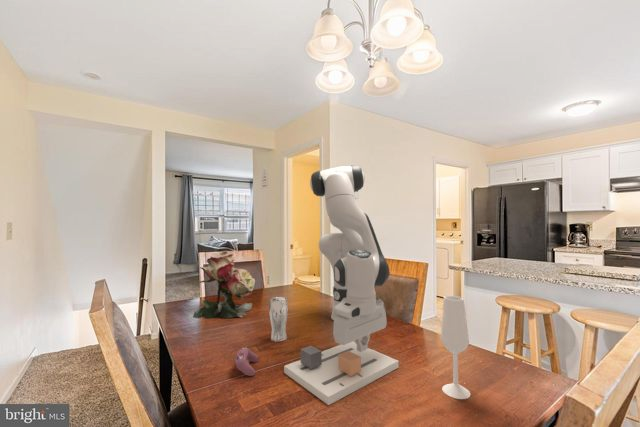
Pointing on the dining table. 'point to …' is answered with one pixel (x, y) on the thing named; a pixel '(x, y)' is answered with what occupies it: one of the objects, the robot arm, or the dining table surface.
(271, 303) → the beer glass
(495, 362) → the dining table surface
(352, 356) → the block
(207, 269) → the rose bouquet
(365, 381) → the fader panel
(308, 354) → the block
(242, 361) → the video game controller
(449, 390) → the champagne flute
